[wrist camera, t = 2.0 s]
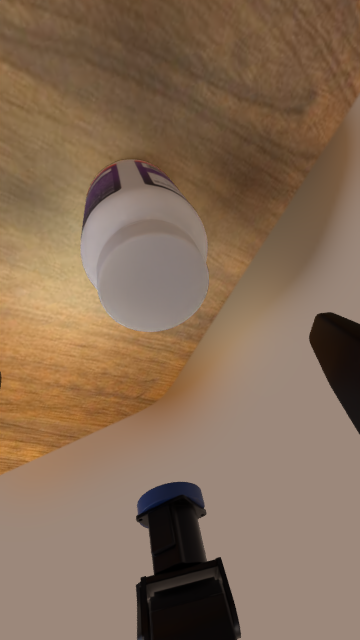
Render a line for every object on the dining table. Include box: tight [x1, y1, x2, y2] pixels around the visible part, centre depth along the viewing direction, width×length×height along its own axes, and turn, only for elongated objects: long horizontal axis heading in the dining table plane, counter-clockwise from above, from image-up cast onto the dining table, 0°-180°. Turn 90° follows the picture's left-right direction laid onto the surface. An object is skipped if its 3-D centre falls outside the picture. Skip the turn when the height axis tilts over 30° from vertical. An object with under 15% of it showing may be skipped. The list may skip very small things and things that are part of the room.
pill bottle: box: [80, 159, 209, 332], centre depth 15 cm, size 5×5×10 cm
